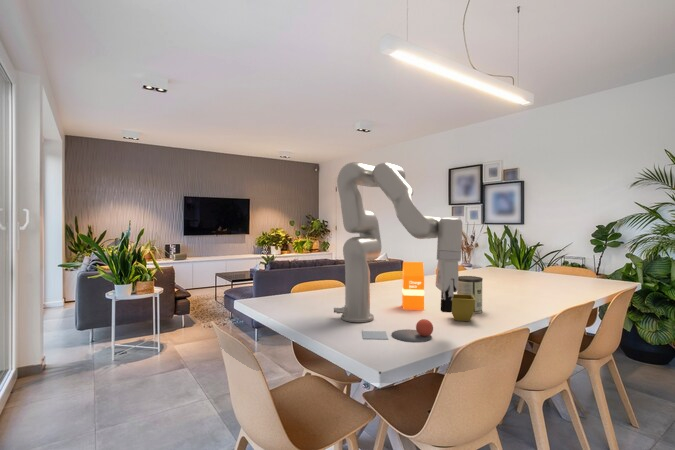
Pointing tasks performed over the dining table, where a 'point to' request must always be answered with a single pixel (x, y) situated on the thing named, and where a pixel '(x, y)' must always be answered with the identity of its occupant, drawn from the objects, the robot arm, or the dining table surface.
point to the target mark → (409, 336)
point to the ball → (424, 327)
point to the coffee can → (471, 289)
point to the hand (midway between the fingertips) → (445, 311)
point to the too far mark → (374, 335)
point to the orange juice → (413, 285)
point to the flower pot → (463, 307)
